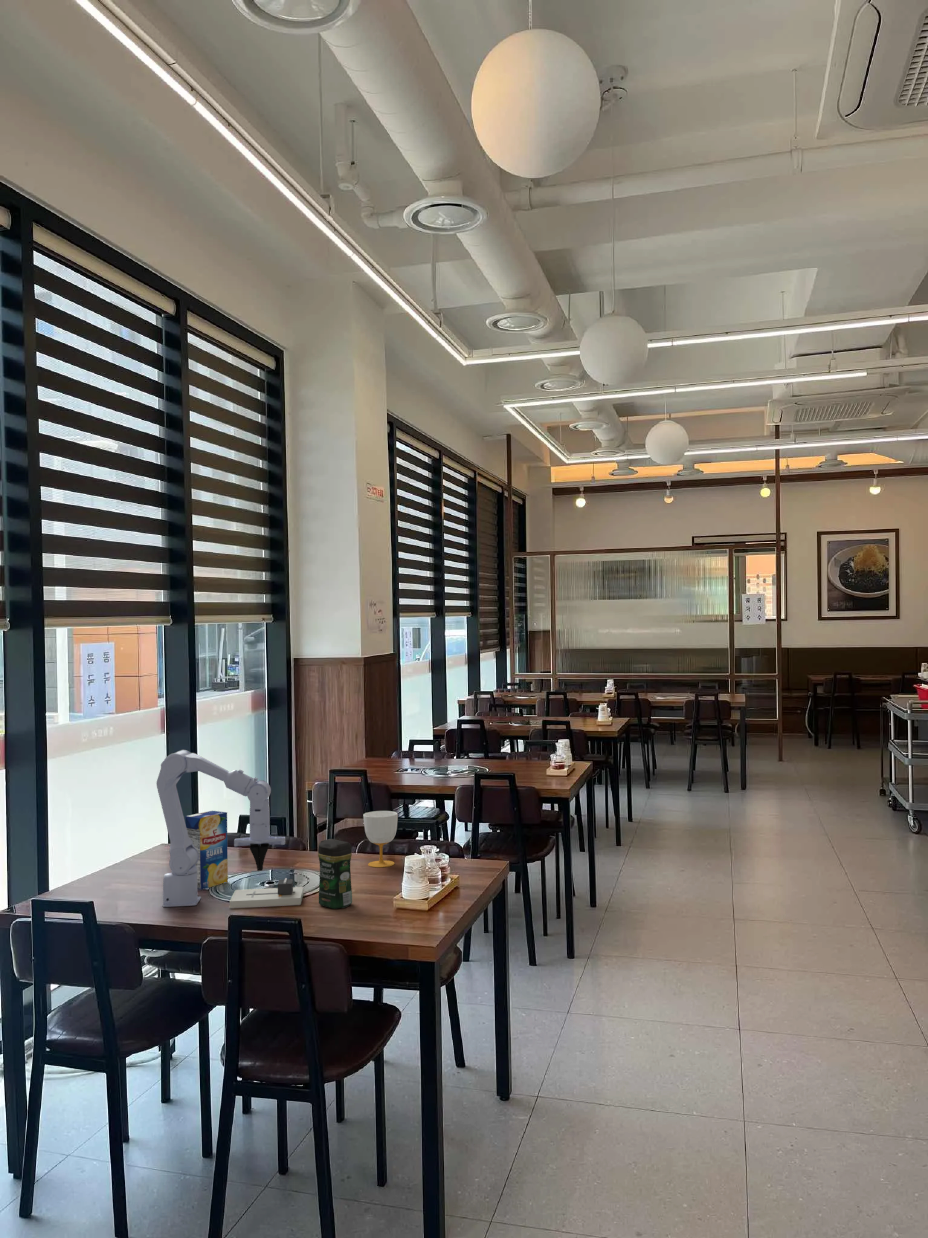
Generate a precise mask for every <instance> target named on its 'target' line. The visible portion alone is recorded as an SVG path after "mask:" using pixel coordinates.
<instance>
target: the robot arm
mask: <svg viewBox="0 0 928 1238" xmlns="http://www.w3.org/2000/svg"><path fill="white" fill-rule="evenodd" d="M193 772H195V773H196V772H201V773H203V774H205V775H206V776H210V777H212V778H215V779H217V780H220V781H221V782H223V783H224V785H225V787H226V789H229V790H230V791H233V792H235V793H237V794H238V795H239V794H240V796H243V797H247V799H248V801H249V837H241V838H234V840H233V846H234V847H241V846H244V847H245V846H249V850H250V852H251V855H252V856H253V859H254V862H255V864H256V870H257V871H258V872H259V871H260V872H261V871H263V869H264V862H265V859H266V856H267V853H268V850H269V849H270V848H269V847H270V845H281V846H283V845H285V844H286V836H272V835H270V832H271V831H270V830H271V827H270V823H271V821H270V820H271V819H270V818H271V817H270V816H271V815H270V813H271V812H270V795H271V792H272V788H271V785H270V784H269V783H268V782H266V780H263V779H261V780H259V778H258V777H252V776H250V775H248V774H245V773H244V770H242V769H239V770H238V769H234V770H231V771H229V770H227V769H225V768H223V767H221V766H220V765H218V764H216V763H214V762H212V761H210V760H208V759H207V758H205V757H202V756H200V755H199V754H197V753H195V752H190V751H189V750H186V749H180V750H178V751H176V752H174V753H173V752H172V753H170V754H169V755H167V756H165V758H164V760H163V761H162V762H161V764H160V770H159V774H158V776H157V778H156V782H155V783H156V789H157V793H158V796H159V801H160V804H161V809H162V814H163V817H164V820H165V821H164V822H165V825H166V829H167V832H168V837H169V842H170V844H169V851H168V852H169V860H168V861H169V862H168V866H169V869H170V870H171V872H166V873H164V874H163V875H164V876H163V880H162V903H163V904H162V907H163V908H169V907H171V908H172V907H189V906H190V907H191V906H192V907H193V906H197V905H198V903H199V902H200V900H201V899H202V896H201V895H199V894H198V889H197V868H196V866H195V864H196V863H197V862H198V860H199V852H198V851H197V849H196V848H195V847H194V845H193V841H192V840H191V839H190V838H189V836H188V832H187V828H186V821H185V816H184V812H183V808H182V805H181V802H180V797H179V792H178V788H177V784H178V782H179V781H180V779H181V778H182V777H183V775H184V774H186V773H193ZM198 895H199V896H198Z"/></svg>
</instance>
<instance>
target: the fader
mask: <svg viewBox="0 0 928 1238" xmlns="http://www.w3.org/2000/svg"><path fill="white" fill-rule="evenodd" d="M277 882H278V883H277V888H278V895H280V894H292V891H293V887H294V878H293V879H292V878H290V879H289V878H287V877H285V878H284V879H279V880H278V881H277Z"/></svg>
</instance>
